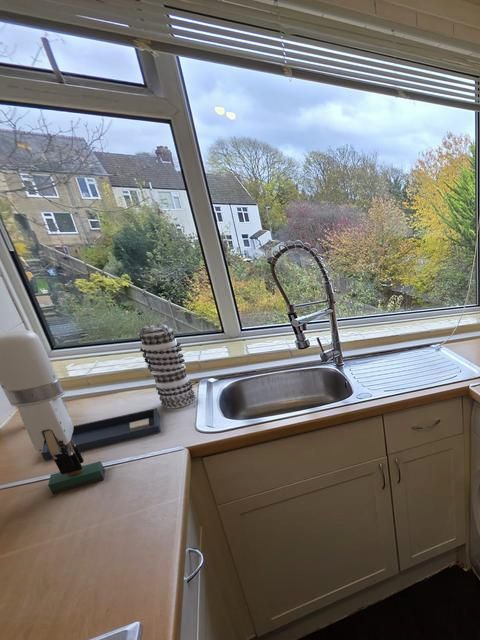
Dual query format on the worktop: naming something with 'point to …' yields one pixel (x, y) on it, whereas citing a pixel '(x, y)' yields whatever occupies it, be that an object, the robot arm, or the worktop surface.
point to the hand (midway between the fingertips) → (72, 467)
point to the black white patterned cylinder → (166, 366)
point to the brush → (76, 477)
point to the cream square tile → (139, 424)
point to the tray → (110, 431)
